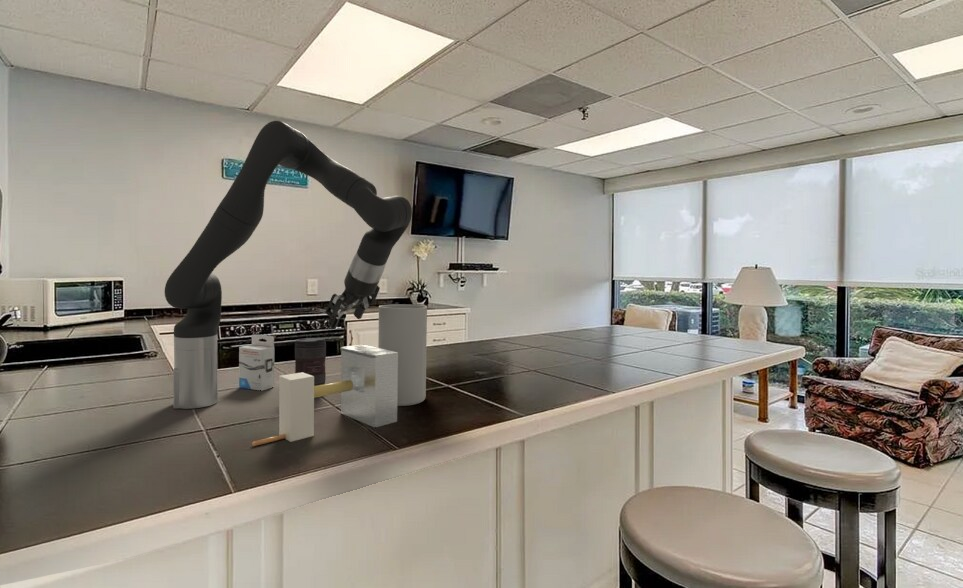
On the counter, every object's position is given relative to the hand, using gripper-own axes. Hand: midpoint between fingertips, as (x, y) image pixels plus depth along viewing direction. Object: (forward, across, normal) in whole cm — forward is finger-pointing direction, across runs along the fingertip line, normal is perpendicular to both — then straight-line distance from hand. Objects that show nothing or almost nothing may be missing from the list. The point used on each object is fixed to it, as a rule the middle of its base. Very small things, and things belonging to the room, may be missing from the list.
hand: (344, 321), depth 120 cm
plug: (+8, +23, +17) cm, 30 cm away
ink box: (+36, +6, -14) cm, 39 cm away
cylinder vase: (+14, -7, +21) cm, 26 cm away
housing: (+9, +8, +22) cm, 25 cm away
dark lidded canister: (+27, +2, 0) cm, 27 cm away
